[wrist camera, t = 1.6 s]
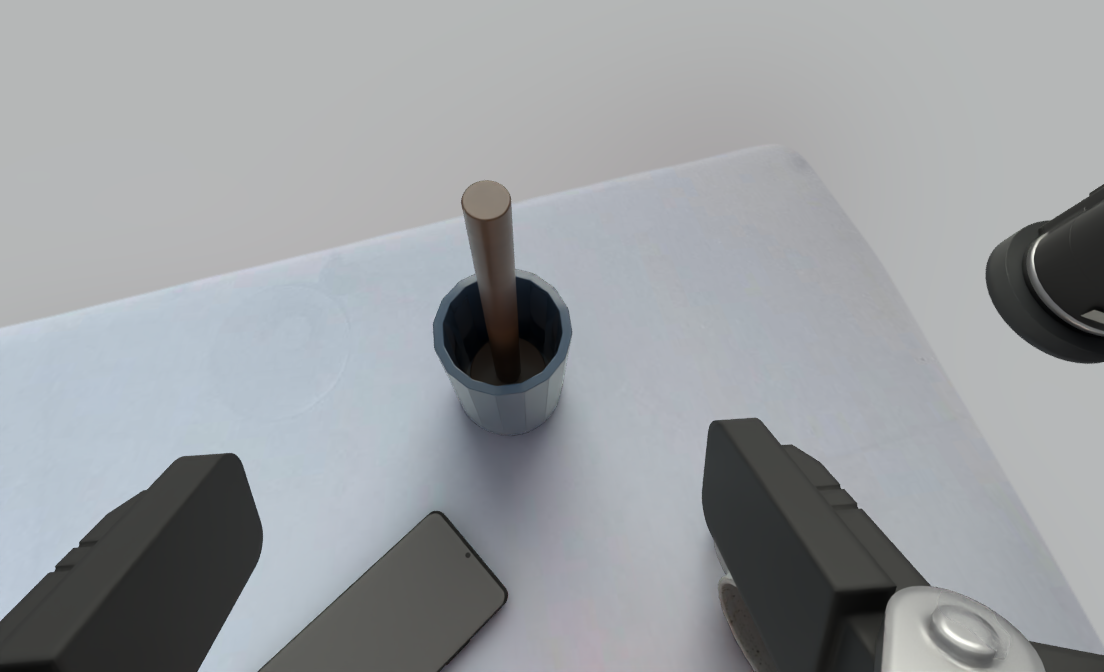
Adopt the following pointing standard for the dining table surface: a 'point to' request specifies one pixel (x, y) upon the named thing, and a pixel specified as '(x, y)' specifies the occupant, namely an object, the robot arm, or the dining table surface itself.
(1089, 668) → the robot arm
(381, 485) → the dining table surface
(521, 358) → the brown wooden plunger
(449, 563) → the smartphone
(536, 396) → the crock
